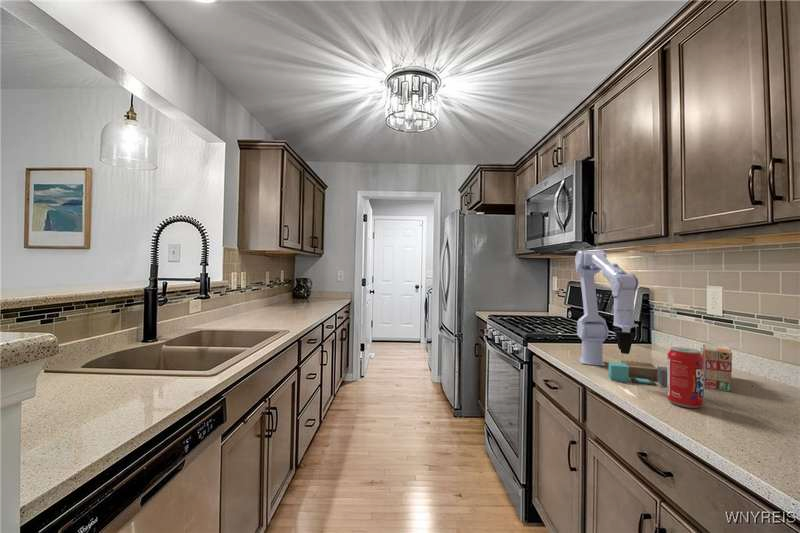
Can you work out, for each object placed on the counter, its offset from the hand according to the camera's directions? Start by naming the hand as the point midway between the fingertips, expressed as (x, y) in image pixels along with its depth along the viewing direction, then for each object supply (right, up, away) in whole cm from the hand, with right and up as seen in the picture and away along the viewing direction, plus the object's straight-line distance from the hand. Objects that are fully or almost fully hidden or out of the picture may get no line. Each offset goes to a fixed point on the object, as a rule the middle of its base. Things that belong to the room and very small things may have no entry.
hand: (623, 351), depth 120 cm
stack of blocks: (+30, -10, 0) cm, 32 cm away
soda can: (+4, -10, -21) cm, 23 cm away
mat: (+5, -10, -1) cm, 11 cm away
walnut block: (+9, -10, +6) cm, 15 cm away
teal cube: (-1, -10, +1) cm, 10 cm away
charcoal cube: (+12, -10, -4) cm, 16 cm away
